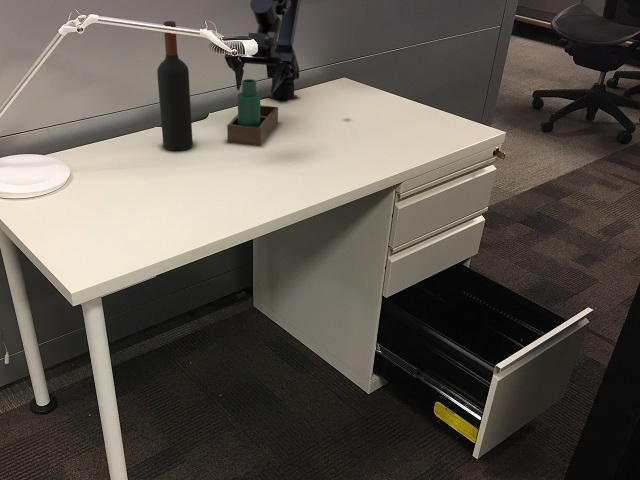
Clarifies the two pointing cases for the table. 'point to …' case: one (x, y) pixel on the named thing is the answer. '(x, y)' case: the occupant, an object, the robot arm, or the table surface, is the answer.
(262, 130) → the carrier
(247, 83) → the bottle
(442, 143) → the table surface
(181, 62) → the wine bottle
